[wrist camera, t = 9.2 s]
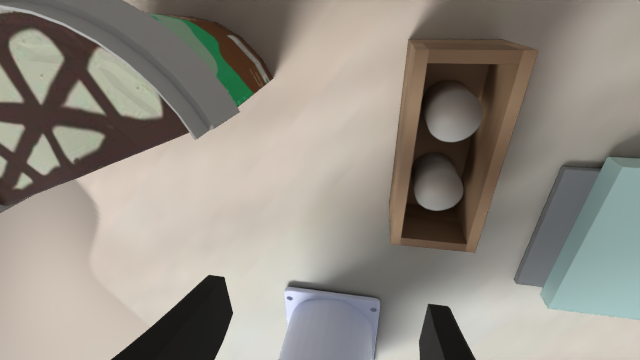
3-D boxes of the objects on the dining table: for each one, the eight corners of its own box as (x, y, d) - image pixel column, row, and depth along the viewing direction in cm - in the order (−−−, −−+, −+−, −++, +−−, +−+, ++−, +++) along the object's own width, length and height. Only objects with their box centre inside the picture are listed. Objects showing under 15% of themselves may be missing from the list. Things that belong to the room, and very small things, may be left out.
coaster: (661, 296, 20) (665, 301, 20) (514, 279, 22) (516, 283, 21) (754, 177, 16) (762, 181, 16) (561, 166, 17) (565, 169, 17)
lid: (631, 304, 21) (644, 320, 20) (540, 294, 22) (547, 308, 21) (734, 163, 15) (759, 174, 14) (607, 156, 16) (622, 167, 15)
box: (458, 209, 20) (474, 252, 16) (389, 203, 20) (390, 243, 17) (502, 39, 15) (538, 50, 11) (408, 39, 16) (415, 49, 12)
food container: (243, -56, 15) (53, -138, 6) (295, 69, 17) (211, 133, 9) (76, 46, 19) (-177, 82, 10) (138, 136, 21) (-24, 225, 13)
